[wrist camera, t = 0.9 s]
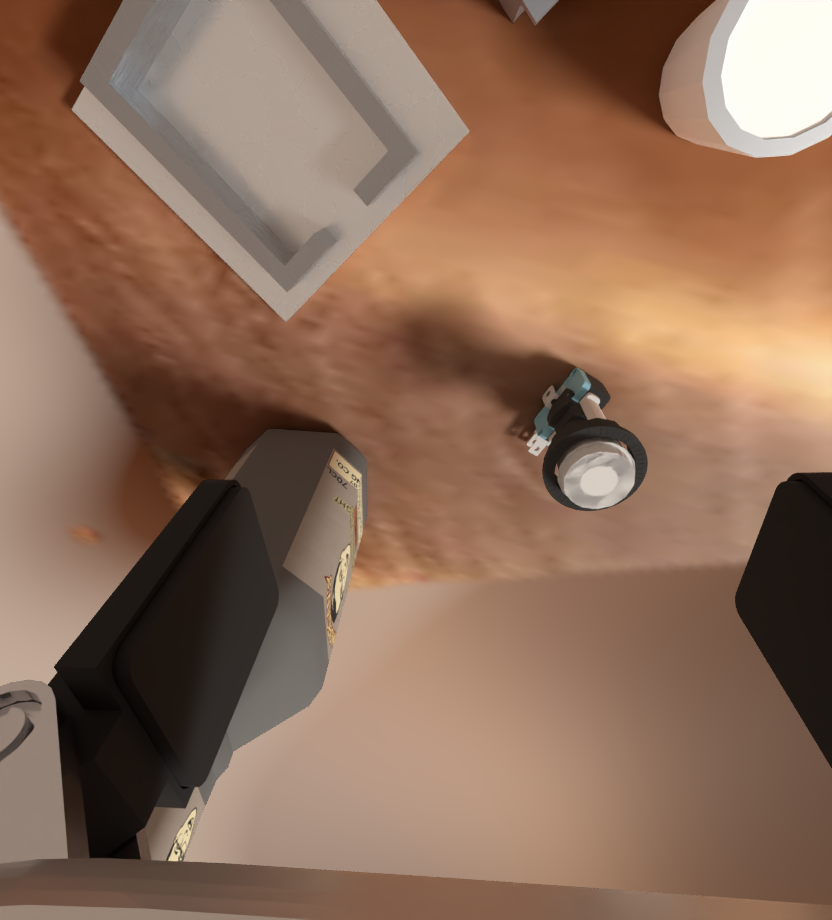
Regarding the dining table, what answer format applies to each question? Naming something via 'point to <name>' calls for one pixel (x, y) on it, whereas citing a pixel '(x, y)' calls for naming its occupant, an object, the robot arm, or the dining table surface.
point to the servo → (527, 8)
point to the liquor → (286, 593)
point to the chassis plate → (269, 126)
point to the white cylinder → (752, 77)
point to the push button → (586, 447)
